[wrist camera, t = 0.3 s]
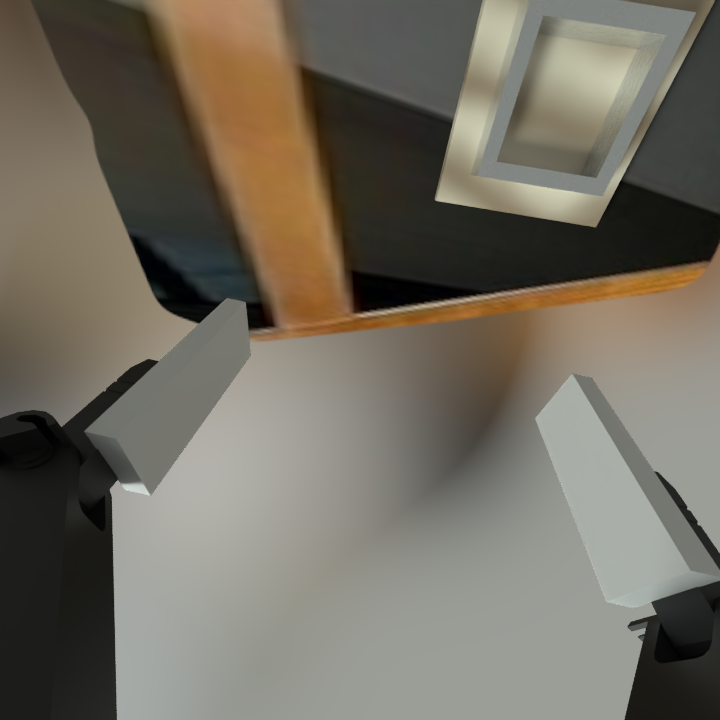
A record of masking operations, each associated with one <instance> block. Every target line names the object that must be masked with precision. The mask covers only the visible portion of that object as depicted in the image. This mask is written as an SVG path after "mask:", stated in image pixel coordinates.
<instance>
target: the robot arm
mask: <svg viewBox="0 0 720 720" xmlns="http://www.w3.org/2000/svg"><path fill="white" fill-rule="evenodd" d="M250 356H251V353H250V342H249V332H248V322H247V312H246V302H242V301H238V300H233V299H229V298H227V299H225V300H224V301H223V302H222V303H221V304H220V305H219V306H218V307H217V308H216V309H215V310H214V311H213V312H212V313H210V314H209V315H208V316H207V317H206V318H205V319H204V320H203V321H202V322H201V323H200V324H199V325H198V326H196V327H195V329H193V330H192V331H191V332H190V333H189V334H188V335H187V336H186V337H185V338H184V339H183V340H182V341H180V342H179V343H178V344H177V345H176V346H175V347H174V348H173V349H172V350H171V351H170V352H169V353H168V354H167V355H165V356H164V357H163V358H162V359H161V360H160V361H155V360H150V359H147V360H145V361H143V362H141V363H139V364H137V365H135V366H133V367H131V368H130V369H129V370H128V371H126V372H125V373H124V374H123V375H122V376H121V377H119V378H118V379H117V382H114V383H112V384H111V385H110V386H109V387H108V388H107V389H106V391H105V392H104V391H103V392H102V393H101V394H100V395H99V396H97V397H96V398H95V399H94V400H93V401H91V402H90V403H89V404H88V405H87V406H86V407H85V408H83V409H82V410H81V411H80V412H79V413H78V414H76V415H75V416H74V417H73V418H72V419H71V420H70V421H68V422H67V423H66V424H65V425H64V426H63V427H61V426H60V425H59V424H58V422H57V421H56V420H55V418H54V417H53V416H52V415H50V414H48V413H47V412H43V411H36V410H31V411H24V412H18V413H15V414H12V415H9V416H5V417H2V418H0V720H117V712H116V711H117V710H116V665H115V622H114V582H113V581H114V579H113V535H112V497H111V493H110V488H111V487H112V486H113V485H114V484H115V482H116V481H117V480H119V482H120V483H121V485H122V486H123V488H124V489H125V490H128V491H132V492H137V493H141V494H145V495H150V496H151V495H152V493H153V492H154V490H155V489H156V488H157V486H158V485H159V483H160V482H161V481H162V479H163V478H164V476H165V475H166V473H167V472H168V471H169V469H170V468H171V467H172V465H173V464H174V462H175V461H176V460H177V458H178V457H179V455H180V454H181V453H182V451H183V450H184V448H185V447H186V446H187V444H188V443H189V441H190V440H191V439H192V437H193V436H194V434H195V433H196V431H197V430H198V428H199V427H200V426H201V424H202V423H203V422H204V420H205V419H206V417H207V416H208V415H209V413H210V412H211V410H212V409H213V408H214V406H215V405H216V403H217V402H218V400H219V399H220V398H221V396H222V395H223V394H224V392H225V391H226V389H227V388H228V387H229V385H230V383H231V382H232V381H233V380H234V378H235V377H236V375H237V374H238V373H239V371H240V370H241V368H242V367H243V366H244V364H245V363H246V361H247V360H248V359H249V357H250ZM535 419H536V422H537V424H538V427H539V430H540V432H541V435H542V437H543V440H544V442H545V445H546V447H547V450H548V453H549V455H550V458H551V461H552V463H553V466H554V468H555V471H556V473H557V476H558V479H559V481H560V484H561V486H562V489H563V492H564V494H565V497H566V499H567V502H568V504H569V507H570V509H571V512H572V515H573V517H574V520H575V522H576V525H577V528H578V530H579V533H580V535H581V538H582V541H583V543H584V546H585V548H586V551H587V553H588V556H589V559H590V561H591V564H592V567H593V569H594V572H595V574H596V577H597V579H598V582H599V584H600V587H601V590H602V592H603V594H604V597H605V600H606V602H609V603H613V604H617V605H622V606H626V607H630V608H636V607H639V606H642V605H645V604H649V603H652V605H653V607H654V609H655V611H656V613H657V615H654V616H650V617H646V618H643V619H640V620H636V621H632V622H631V623H630V624H629V625H628V628H629V629H630V630H631V631H634V630H638V629H642V628H646V631H645V634H643V635H640V636H638V638H639V639H641V640H642V641H643V644H642V648H641V653H640V657H639V661H638V665H637V669H636V673H635V678H634V682H633V686H632V690H631V695H630V699H629V703H628V707H627V711H626V716H625V720H720V553H719V552H718V550H717V549H716V547H715V546H714V545H713V543H712V542H711V540H710V539H709V537H708V536H707V534H706V533H705V532H704V530H703V529H702V527H701V526H699V525H698V524H697V520H696V519H695V517H694V516H693V514H692V513H691V511H689V510H687V506H686V504H685V503H684V501H683V500H682V498H681V497H680V495H679V494H678V493H677V491H676V490H675V489H674V488H673V487H672V486H671V485H670V484H669V483H668V482H667V481H666V480H665V479H664V478H663V477H662V476H661V475H660V474H659V473H658V472H655V471H653V469H652V468H651V466H650V465H649V463H648V462H647V460H646V459H645V457H644V456H643V454H642V453H641V451H640V450H639V448H638V447H637V445H636V444H635V442H634V441H633V439H632V438H631V436H630V435H629V433H628V432H627V430H626V429H625V427H624V426H623V424H622V423H621V421H620V420H619V418H618V417H617V415H616V414H615V412H614V411H613V409H612V408H611V406H610V405H609V403H608V402H607V400H606V399H605V397H604V396H603V394H602V392H601V391H600V390H599V388H598V387H597V385H596V383H595V382H594V381H593V379H592V378H590V377H585V376H581V375H576V374H572V375H571V376H570V377H569V378H568V379H567V381H566V382H565V383H564V384H563V386H562V387H561V388H560V389H559V390H558V392H557V393H556V394H555V395H554V396H553V398H552V399H551V400H550V401H549V403H548V404H547V405H546V406H545V407H544V408H543V410H542V411H541V412H540V413H539V415H538V416H537V417H536V418H535Z"/></svg>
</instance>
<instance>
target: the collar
mask: <svg viewBox="0 0 720 720" xmlns="http://www.w3.org/2000/svg"><path fill="white" fill-rule="evenodd" d="M695 14H696V12H690V11H684V10H678V9H672V8H665V7H659V6H653V5H646V4H640V3H634V2H628V1H621V0H523V2H522V3H521V4H520V6H519V7H518V11H517V14H516V18H515V21H514V25H513V28H512V32H511V35H510V39H509V42H508V46H507V49H506V52H505V56H504V59H503V63H502V66H501V70H500V73H499V77H498V80H497V84H496V87H495V91H494V94H493V98H492V101H491V104H490V108H489V111H488V115H487V118H486V122H485V125H484V129H483V132H482V136H481V139H480V143H479V146H478V150H477V153H476V156H475V160H474V163H473V167H472V170H471V174H470V175H473V176H479V177H485V178H491V179H497V180H503V181H509V182H515V183H521V184H527V185H533V186H539V187H545V188H551V189H557V190H563V191H569V192H576V193H582V194H588V195H596V196H603V195H604V193H605V191H606V189H607V187H608V185H609V183H610V181H611V179H612V177H613V175H614V173H615V171H616V169H617V167H618V165H619V163H620V161H621V159H622V157H623V155H624V153H625V151H626V149H627V148H628V146H629V144H630V142H631V140H632V138H633V136H634V134H635V132H636V130H637V128H638V126H639V124H640V122H641V120H642V118H643V116H644V114H645V112H646V110H647V108H648V106H649V104H650V102H651V100H652V99H653V97H654V95H655V93H656V91H657V89H658V87H659V85H660V83H661V81H662V79H663V77H664V75H665V73H666V71H667V69H668V67H669V65H670V63H671V61H672V59H673V57H674V55H675V53H676V51H677V50H678V48H679V46H680V44H681V42H682V40H683V38H684V36H685V34H686V32H687V30H688V28H689V26H690V24H691V22H692V20H693V18H694V16H695ZM537 34H543V35H550V36H556V37H562V38H568V39H574V40H581V41H587V42H593V43H599V44H606V45H612V46H618V47H624V48H631V49H637V50H636V52H635V54H634V57H633V59H632V61H631V63H630V65H629V68H628V70H627V72H626V74H625V76H624V79H623V81H622V83H621V85H620V87H619V89H618V92H617V94H616V96H615V98H614V100H613V103H612V105H611V107H610V109H609V111H608V114H607V116H606V118H605V120H604V122H603V124H602V127H601V129H600V131H599V133H598V135H597V138H596V140H595V142H594V144H593V146H592V148H591V151H590V153H589V155H588V157H587V159H586V162H585V164H584V166H583V168H582V170H581V173H580V175H575V174H569V173H563V172H557V171H551V170H545V169H538V168H532V167H526V166H520V165H514V164H508V163H502V162H496V161H497V158H498V155H499V152H500V149H501V146H502V142H503V139H504V136H505V133H506V130H507V127H508V124H509V121H510V118H511V115H512V111H513V108H514V105H515V102H516V99H517V96H518V93H519V90H520V87H521V84H522V80H523V77H524V74H525V71H526V68H527V65H528V62H529V59H530V56H531V53H532V49H533V46H534V43H535V40H536V37H537Z"/></svg>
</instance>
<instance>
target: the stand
mask: <svg viewBox="0 0 720 720" xmlns="http://www.w3.org/2000/svg"><path fill="white" fill-rule="evenodd" d="M621 1H628V2H634V3H640V4H646V5H653V6H659V7H665V8H672V9H678V10H684V11H690V12H696V14H695V16H694V18H693V20H692V22H691V24H690V26H689V28H688V30H687V32H686V34H685V36H684V38H683V40H682V42H681V44H680V46H679V48H678V50H677V51H676V53H675V55H674V57H673V59H672V61H671V63H670V65H669V67H668V69H667V71H666V73H665V75H664V77H663V79H662V81H661V83H660V85H659V87H658V89H657V91H656V93H655V95H654V97H653V99H652V100H651V102H650V104H649V106H648V108H647V110H646V112H645V114H644V116H643V118H642V120H641V122H640V124H639V126H638V128H637V130H636V132H635V134H634V136H633V138H632V140H631V142H630V144H629V146H628V148H627V149H626V151H625V153H624V155H623V157H622V159H621V161H620V163H619V165H618V167H617V169H616V171H615V173H614V175H613V177H612V179H611V181H610V183H609V185H608V187H607V189H606V191H605V193H604V195H603V196H596V195H588V194H582V193H576V192H569V191H563V190H557V189H551V188H545V187H539V186H533V185H527V184H521V183H515V182H509V181H503V180H497V179H491V178H485V177H479V176H473V175H470V174H471V170H472V167H473V163H474V160H475V156H476V153H477V150H478V146H479V143H480V139H481V136H482V132H483V129H484V125H485V122H486V118H487V115H488V111H489V108H490V104H491V101H492V98H493V94H494V91H495V87H496V84H497V80H498V77H499V73H500V70H501V66H502V63H503V59H504V56H505V52H506V49H507V46H508V42H509V39H510V35H511V32H512V28H513V25H514V21H515V18H516V14H517V11H518V7H519V6H520V4H521V3H522V2H523V0H483V2H482V6H481V10H480V14H479V18H478V22H477V26H476V30H475V35H474V39H473V43H472V47H471V51H470V55H469V59H468V63H467V68H466V72H465V76H464V80H463V84H462V88H461V92H460V96H459V101H458V105H457V109H456V113H455V117H454V121H453V125H452V129H451V134H450V138H449V142H448V146H447V150H446V154H445V158H444V162H443V167H442V171H441V175H440V179H439V183H438V187H437V191H436V195H435V200H436V201H441V202H447V203H453V204H459V205H465V206H471V207H477V208H483V209H489V210H495V211H501V212H507V213H513V214H519V215H525V216H531V217H537V218H543V219H549V220H556V221H562V222H568V223H574V224H580V225H586V226H592V227H596V226H597V224H598V222H599V220H600V218H601V217H602V215H603V213H604V211H605V209H606V207H607V205H608V203H609V201H610V199H611V198H612V196H613V194H614V192H615V190H616V188H617V186H618V184H619V182H620V180H621V179H622V177H623V175H624V173H625V171H626V169H627V167H628V165H629V163H630V161H631V160H632V158H633V156H634V154H635V152H636V150H637V148H638V146H639V144H640V142H641V140H642V139H643V137H644V135H645V133H646V131H647V129H648V127H649V125H650V123H651V121H652V120H653V118H654V116H655V114H656V112H657V110H658V108H659V106H660V104H661V102H662V101H663V99H664V97H665V95H666V93H667V91H668V89H669V87H670V85H671V83H672V82H673V80H674V78H675V76H676V74H677V72H678V70H679V68H680V66H681V64H682V62H683V61H684V59H685V57H686V55H687V53H688V51H689V49H690V47H691V45H692V43H693V42H694V40H695V38H696V36H697V34H698V32H699V30H700V28H701V26H702V24H703V23H704V21H705V19H706V17H707V15H708V13H709V11H710V9H711V7H712V5H713V3H714V2H715V0H621ZM636 50H637V49H631V48H624V47H618V46H612V45H606V44H599V43H593V42H587V41H581V40H574V39H568V38H562V37H556V36H550V35H543V34H537V37H536V40H535V43H534V46H533V49H532V53H531V56H530V59H529V62H528V65H527V68H526V71H525V74H524V77H523V80H522V84H521V87H520V90H519V93H518V96H517V99H516V102H515V105H514V108H513V111H512V115H511V118H510V121H509V124H508V127H507V130H506V133H505V136H504V139H503V142H502V146H501V149H500V152H499V155H498V158H497V161H496V162H502V163H508V164H514V165H520V166H526V167H532V168H538V169H545V170H551V171H557V172H563V173H569V174H575V175H580V173H581V170H582V168H583V166H584V164H585V162H586V159H587V157H588V155H589V153H590V151H591V148H592V146H593V144H594V142H595V140H596V138H597V135H598V133H599V131H600V129H601V127H602V124H603V122H604V120H605V118H606V116H607V114H608V111H609V109H610V107H611V105H612V103H613V100H614V98H615V96H616V94H617V92H618V89H619V87H620V85H621V83H622V81H623V79H624V76H625V74H626V72H627V70H628V68H629V65H630V63H631V61H632V59H633V57H634V54H635V52H636Z"/></svg>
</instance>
